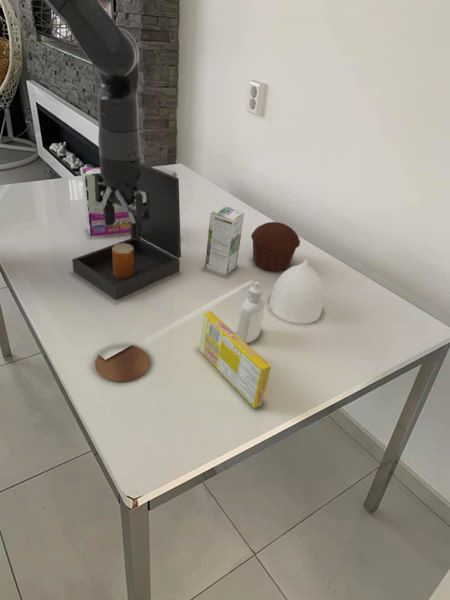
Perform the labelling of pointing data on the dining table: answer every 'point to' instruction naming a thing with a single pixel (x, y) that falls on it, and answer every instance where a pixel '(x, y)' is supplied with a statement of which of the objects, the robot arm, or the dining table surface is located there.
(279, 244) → the muffin
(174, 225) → the box lid
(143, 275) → the open lid tray box
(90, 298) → the dining table surface
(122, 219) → the candy bar box
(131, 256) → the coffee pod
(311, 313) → the teardrop
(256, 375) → the candy box
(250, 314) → the eye dropper bottle
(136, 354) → the coaster
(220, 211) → the syrup box
